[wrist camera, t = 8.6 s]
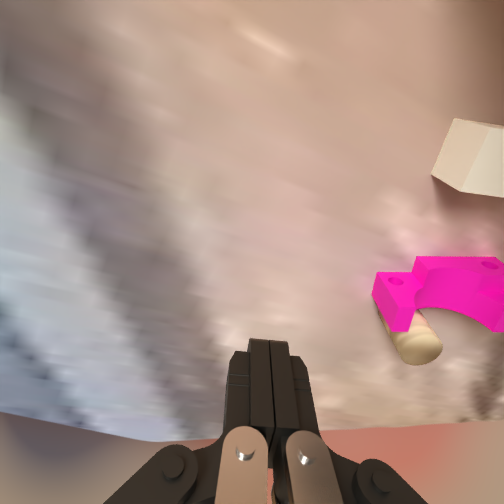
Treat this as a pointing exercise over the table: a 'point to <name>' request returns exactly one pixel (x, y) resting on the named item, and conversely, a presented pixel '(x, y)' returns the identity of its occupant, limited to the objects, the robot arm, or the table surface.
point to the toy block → (443, 290)
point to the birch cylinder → (416, 341)
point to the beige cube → (473, 158)
